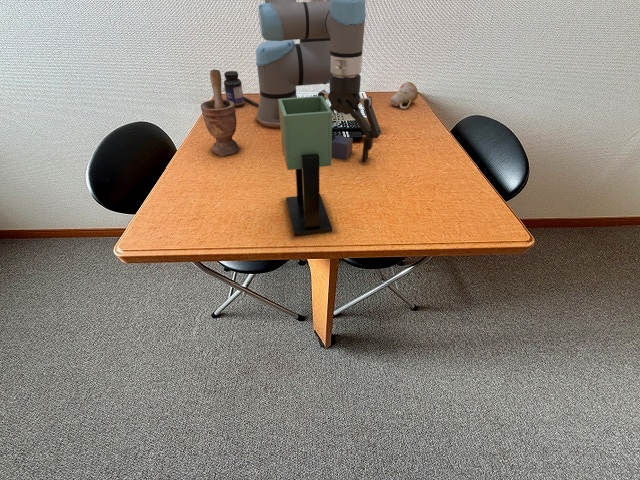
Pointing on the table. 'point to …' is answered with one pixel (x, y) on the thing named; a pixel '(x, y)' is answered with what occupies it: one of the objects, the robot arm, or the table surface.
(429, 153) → the table surface
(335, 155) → the block
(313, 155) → the stand
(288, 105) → the green square planter
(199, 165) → the table surface
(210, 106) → the mortar and pestle
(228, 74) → the pill bottle
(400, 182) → the table surface
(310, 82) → the robot arm
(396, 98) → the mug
